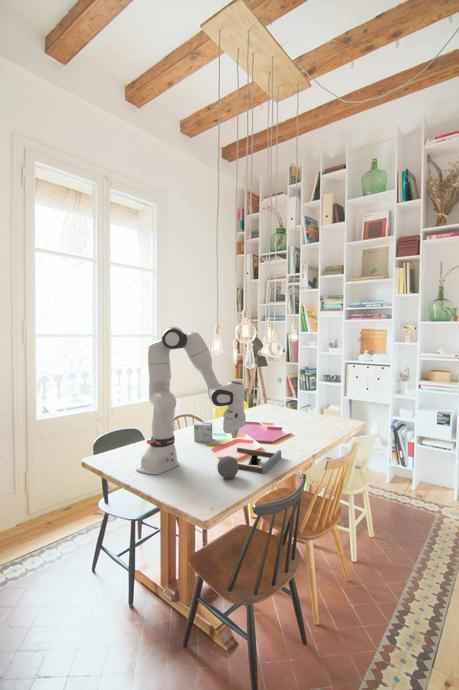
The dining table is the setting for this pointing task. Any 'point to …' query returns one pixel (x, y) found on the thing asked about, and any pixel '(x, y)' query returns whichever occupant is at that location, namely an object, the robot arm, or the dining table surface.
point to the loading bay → (265, 467)
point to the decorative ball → (227, 467)
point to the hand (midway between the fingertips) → (234, 437)
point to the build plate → (254, 459)
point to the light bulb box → (203, 432)
